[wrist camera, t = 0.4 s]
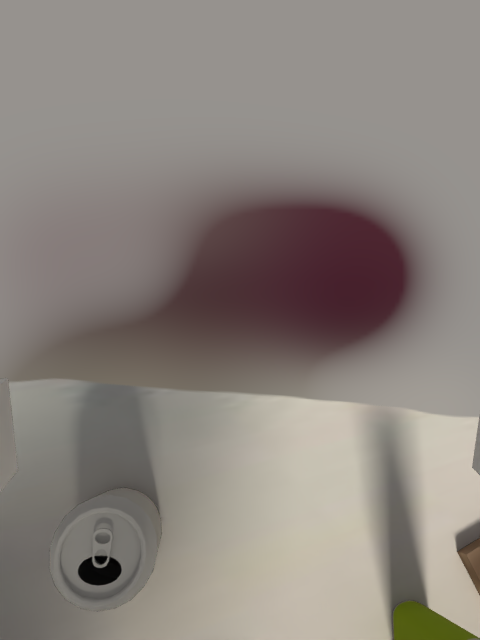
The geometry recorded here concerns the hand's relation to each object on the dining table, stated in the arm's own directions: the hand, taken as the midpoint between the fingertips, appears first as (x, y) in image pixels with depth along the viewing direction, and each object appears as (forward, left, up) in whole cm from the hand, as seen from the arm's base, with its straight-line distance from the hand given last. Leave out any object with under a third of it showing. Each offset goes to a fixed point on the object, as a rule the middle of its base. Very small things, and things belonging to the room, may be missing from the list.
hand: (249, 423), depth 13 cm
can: (-4, +9, -34) cm, 36 cm away
